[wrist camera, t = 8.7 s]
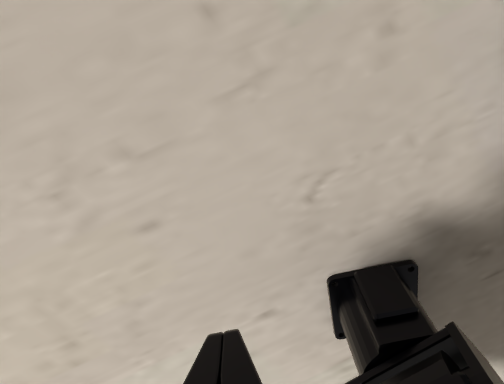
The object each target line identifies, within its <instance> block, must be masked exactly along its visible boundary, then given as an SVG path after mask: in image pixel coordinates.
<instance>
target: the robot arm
mask: <svg viewBox="0 0 504 384" xmlns="http://www.w3.org/2000/svg"><path fill="white" fill-rule="evenodd" d="M409 267H410V268H409ZM333 282H336V283H333ZM327 287H328V294H329V301H330V308H331V315H332V322H333V329H334V334H335V337H336V338H337V339H345V338H346V339H347V342H348V345H349V348H350V350H351V353H352V356H353V359H354V362H355V365H356V367H357V370H358V373H359V376H358V377H356V378H354V379H352V380H350V381H349V382H347V383H345V384H504V382H503V381H502V380H501V378H500V377H499V376H498V374H497V373H496V372H495V370H494V369H493V368H492V366H491V365H490V364H489V362H488V361H487V360H486V358H485V357H484V356H483V355H482V354H481V352H480V351H479V350H478V349H477V348H476V347H475V346H474V345H473V343H472V342H471V341H470V340H469V339H468V338H467V337H466V335H465V334H464V333H463V332H462V331H461V330H460V329H459V328H458V326H457V325H456V324H455V323H454V322H451V323H449V324H448V325H446V326H445V327H446V328H444V329H442V330H440V331H437V329H436V328H435V326H434V325H433V323H432V321H431V320H430V318H429V317H428V315H427V314H426V312H425V310H424V309H423V307H422V306H421V304H420V303H419V301H418V299H417V291H418V266H417V264H416V263H415V262H414V261H412V260H408V261H403V262H398V263H393V264H388V265H383V266H378V267H373V268H368V269H363V270H358V271H353V272H348V273H343V274H338V275H333V276H330V277H329V278H328V279H327ZM183 384H262V382H261V380H260V378H259V375H258V373H257V371H256V368H255V366H254V364H253V362H252V359H251V357H250V355H249V352H248V350H247V348H246V345H245V343H244V341H243V338H242V336H241V334H240V332H239V330H238V329H234V330H229V331H225V332H224V333H222V332H219V333H214V334H210V335H208V336H207V338H206V340H205V342H204V344H203V346H202V348H201V350H200V352H199V354H198V356H197V358H196V360H195V362H194V364H193V366H192V368H191V370H190V371H189V373H188V375H187V377H186V379H185V381H184V383H183Z"/></svg>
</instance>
